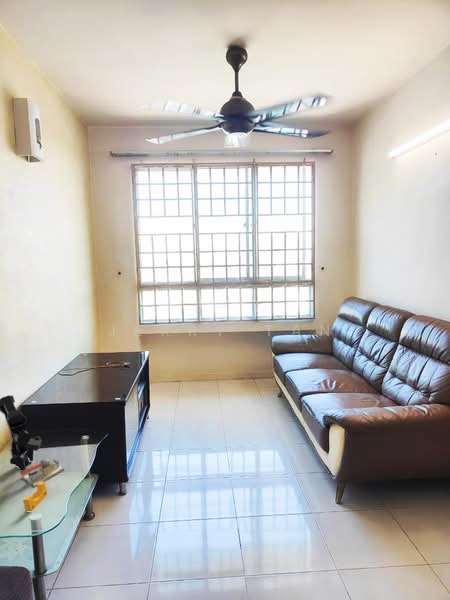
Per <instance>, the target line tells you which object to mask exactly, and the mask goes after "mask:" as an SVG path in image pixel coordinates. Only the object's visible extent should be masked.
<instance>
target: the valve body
mask: <svg viewBox="0 0 450 600" xmlns="http://www.w3.org/2000/svg"><path fill="white" fill-rule="evenodd" d="M59 466H60V462H59V460H57V459H55V458H54V459H52V462H50V464H49V465H47V466H44V467H42V466H41V467H39V469H38V470H36V471H35V472H33V473H28V476H29V480H30V481H31V482H34V481H35V480H37V479H39V478H40V477H42V476H47V475H48V474H50V473H52V472H54V471H55V469H56V468H59Z"/></svg>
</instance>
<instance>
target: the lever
mask: <svg viewBox="0 0 450 600" xmlns="http://www.w3.org/2000/svg"><path fill="white" fill-rule="evenodd" d="M49 464H50V458H49V457H46V458H43V459H42V460H40V461H39V462H38V463H36V464H33V465H31V466H29V467H26V469H24V470H19V473H20V477H22V476H23V475H25V474H27V473H29V472H31V471H33V470H35V469H37V468H39V467H41V466H42V467H44V466H47V465H49Z"/></svg>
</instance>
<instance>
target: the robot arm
mask: <svg viewBox="0 0 450 600" xmlns="http://www.w3.org/2000/svg"><path fill="white" fill-rule="evenodd" d="M0 413H2V414H3V415H4V418H5V421H6V425H7V427H8V431H9V434H10V437H11V443H10V449H9V450H10V455H11V458H10V459H9V464H10V465H14V466H18V467H19V468H20V471H22V470H24V469H27V467H28V466H29V464H30V465H31V463H32V462H33V461H34V451H35V452H37V451H39V449H41V445H42V442H43V440H42V438H41V436H36V437H35V438H31V435H30V434H29V432H28V431H27V430H26V428H28V427H29V422H28V419H27V417H26V415H25V414H23V413H22V412H21V410H17V408H16V406H15V398H14V395H9V394H8V395H6V396H3V397H1V398H0ZM29 461H30V462H29ZM27 465H28V466H27Z"/></svg>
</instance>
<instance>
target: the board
mask: <svg viewBox="0 0 450 600" xmlns="http://www.w3.org/2000/svg"><path fill="white" fill-rule="evenodd" d="M49 461H50V462H53V460H50V459H49ZM38 469H39V468H37V469H35V470H33V471H31V472H29V473H33V472H35V471H36V470H38ZM64 471H65V468H64V467H62V466H61V465H59V468H56V469H55V471H54V472H52V473H50V474H48V475H47V476H42V477H40V478H39V479H37V480H35V481H34V482H31V481H30V480H29V476H28V473H27V474H25V475H23V476H21V478H22V479H23V480H25V481H26V482H28V483H29V484H30V485H31V486H33V487H34V488H37V484H38V483H39V482H45V483H46V481H48V480H50V479H51V478H53V477H54V476H56V475H58V474H60V473H62V472H64Z"/></svg>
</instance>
